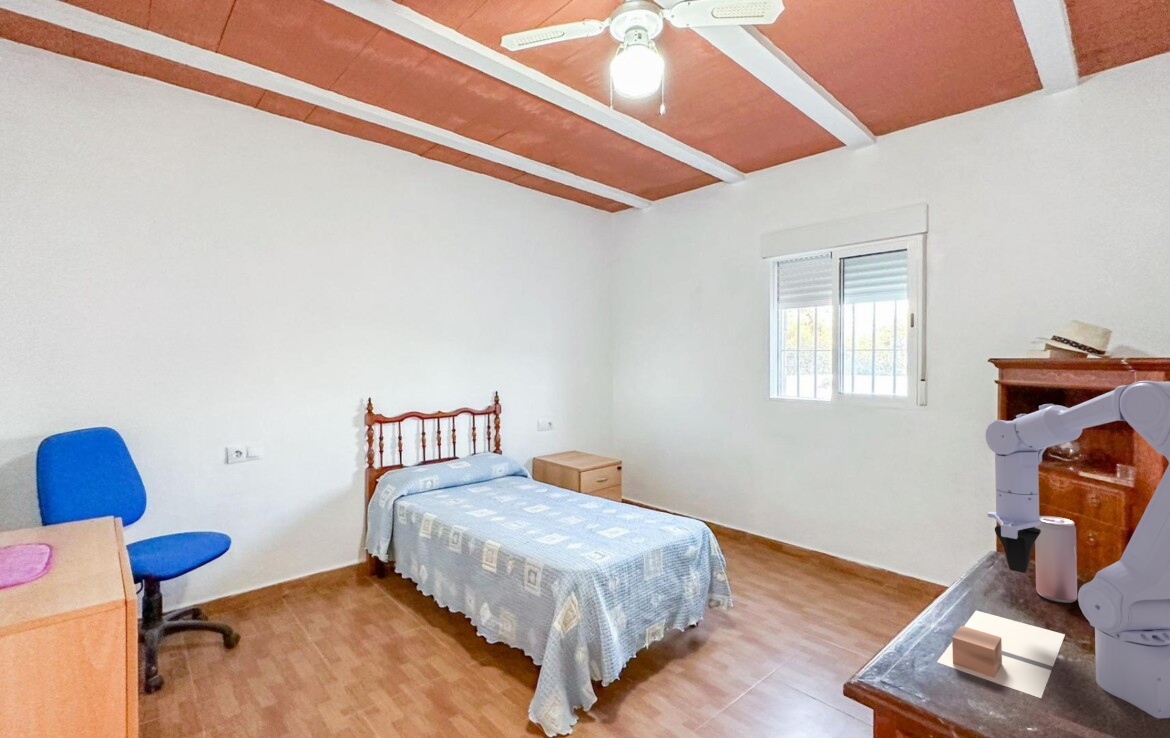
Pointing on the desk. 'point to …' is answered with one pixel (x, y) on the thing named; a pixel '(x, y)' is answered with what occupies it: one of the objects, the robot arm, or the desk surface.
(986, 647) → the block
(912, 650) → the desk surface
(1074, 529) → the beverage can
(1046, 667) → the board
